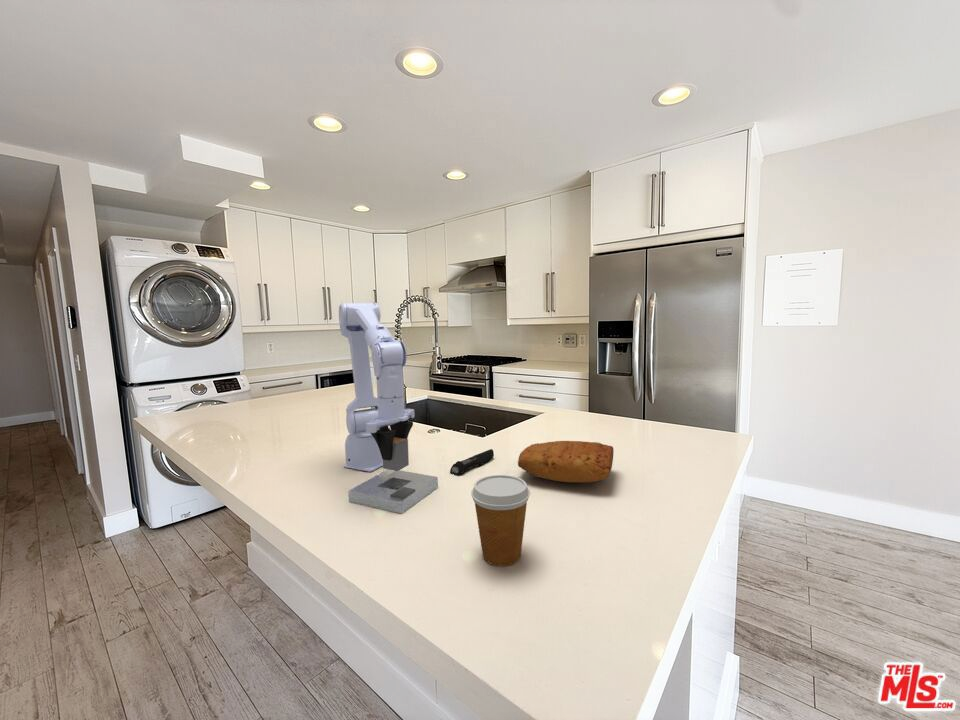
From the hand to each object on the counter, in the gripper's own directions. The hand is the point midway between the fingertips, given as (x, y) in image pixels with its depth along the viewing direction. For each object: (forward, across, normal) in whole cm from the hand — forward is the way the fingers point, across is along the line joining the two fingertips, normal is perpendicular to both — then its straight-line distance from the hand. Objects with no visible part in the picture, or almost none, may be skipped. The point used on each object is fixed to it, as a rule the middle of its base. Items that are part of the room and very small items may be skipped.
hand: (393, 456), depth 89 cm
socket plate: (+9, 0, 0) cm, 9 cm away
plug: (+2, 0, -1) cm, 2 cm away
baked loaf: (+9, +24, -33) cm, 42 cm away
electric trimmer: (+9, +22, -8) cm, 26 cm away
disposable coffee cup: (+9, -12, -31) cm, 34 cm away
